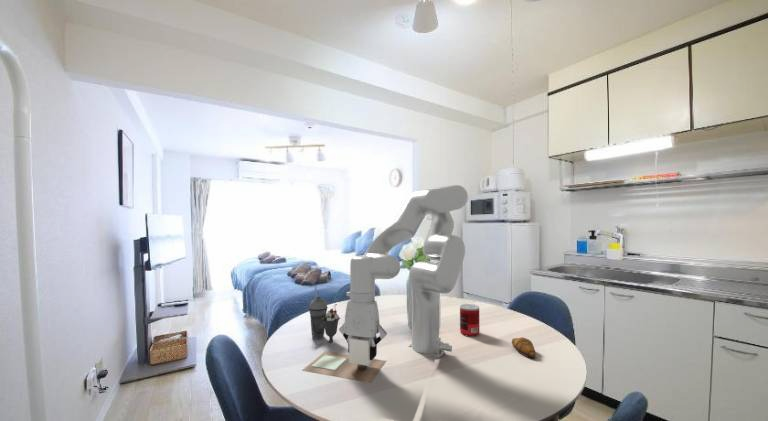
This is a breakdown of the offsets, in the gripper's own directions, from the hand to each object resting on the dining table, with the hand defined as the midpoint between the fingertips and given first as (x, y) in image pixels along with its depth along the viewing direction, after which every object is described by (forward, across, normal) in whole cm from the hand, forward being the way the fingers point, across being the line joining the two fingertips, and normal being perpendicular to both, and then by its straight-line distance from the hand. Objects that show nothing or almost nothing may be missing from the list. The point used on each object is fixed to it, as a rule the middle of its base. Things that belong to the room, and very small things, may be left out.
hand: (362, 356), depth 92 cm
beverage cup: (+5, -28, +21) cm, 35 cm away
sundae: (+5, -19, +15) cm, 24 cm away
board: (+5, -6, 0) cm, 7 cm away
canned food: (+5, +29, +45) cm, 54 cm away
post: (+3, 0, 0) cm, 3 cm away
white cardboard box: (+1, 0, 0) cm, 1 cm away
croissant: (+6, +48, +33) cm, 59 cm away
